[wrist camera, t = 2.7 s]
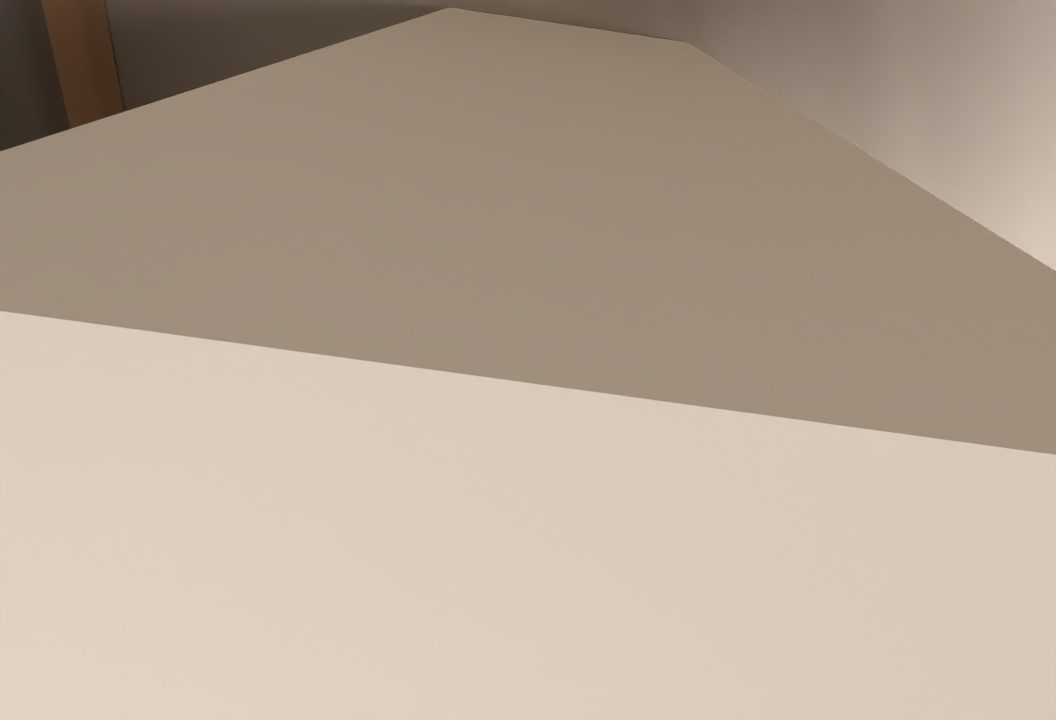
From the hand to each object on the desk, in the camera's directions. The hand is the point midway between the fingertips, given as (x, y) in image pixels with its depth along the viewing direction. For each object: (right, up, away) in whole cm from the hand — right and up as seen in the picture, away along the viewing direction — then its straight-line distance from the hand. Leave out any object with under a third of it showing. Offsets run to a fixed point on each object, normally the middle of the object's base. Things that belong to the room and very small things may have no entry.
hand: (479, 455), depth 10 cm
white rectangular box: (+1, +3, +4) cm, 5 cm away
